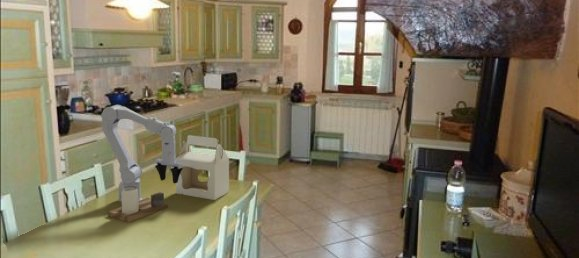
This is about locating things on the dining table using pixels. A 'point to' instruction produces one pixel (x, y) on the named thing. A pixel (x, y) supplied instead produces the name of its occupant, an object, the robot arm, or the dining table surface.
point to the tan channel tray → (141, 208)
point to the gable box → (211, 163)
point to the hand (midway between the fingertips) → (169, 181)
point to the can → (129, 200)
